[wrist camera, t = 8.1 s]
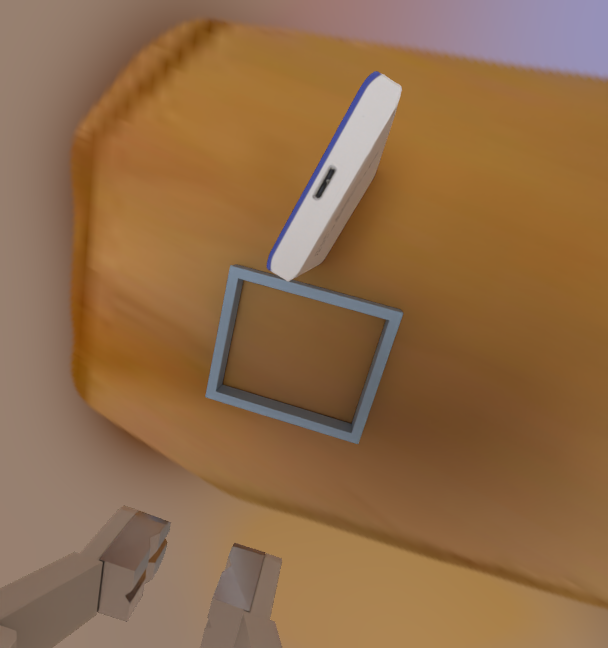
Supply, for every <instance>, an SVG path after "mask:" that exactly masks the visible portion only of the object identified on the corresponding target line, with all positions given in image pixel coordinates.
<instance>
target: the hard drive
mask: <svg viewBox="0 0 608 648" xmlns="http://www.w3.org/2000/svg"><path fill="white" fill-rule="evenodd" d="M401 90H402V87H401V86H400V85H399V84H397V83H395V82H394V81H392V80H391V79H389V78H388V77H386V76H385V75H383V74H381V73H379V72H377V71H375V72H373V73H372V74H371V75H369V76H368V77H367V78H366V80H365V81H364V83H363V84H362V86H361V87H360V89H359V91H358V93H357V94H356V96H355V98H354V100H353V102H352V103H351V105H350V107H349V109H348V111H347V113H346V115H345V116H344V118H343V120H342V122H341V123H340V125H339V127H338V129H337V131H336V133H335V134H334V136H333V138H332V140H331V142H330V144H329V146H328V147H327V149H326V151H325V153H324V155H323V157H322V158H321V160H320V162H319V164H318V166H317V168H316V169H315V171H314V173H313V175H312V177H311V179H310V181H309V182H308V184H307V186H306V188H305V190H304V191H303V193H302V195H301V197H300V199H299V201H298V202H297V204H296V206H295V208H294V209H293V211H292V213H291V215H290V217H289V219H288V220H287V222H286V224H285V226H284V228H283V230H282V231H281V233H280V235H279V237H278V239H277V241H276V243H275V245H274V247H273V249H272V250H271V252H270V254H269V258H268V261H267V269H268V270H270V271H272V272H273V273H275V274H277V275H278V276H280V277H282V278H283V279H285V280H286V281H288V282H289V281H290V280H292V279H294V278H296V277H298V276H299V275H301V274H303V273H305V272H307V271H309V270H310V269H312V268H314V267H316V266H318V265H319V264H321V263H322V262H323V261H324V260H325V258H326V256H327V255H328V253H329V251H330V250H331V248H332V246H333V245H334V243H335V241H336V240H337V238H338V236H339V235H340V233H341V231H342V230H343V228H344V226H345V225H346V223H347V221H348V220H349V218H350V216H351V215H352V213H353V211H354V210H355V208H356V206H357V205H358V203H359V201H360V200H361V198H362V197H363V195H364V193H365V192H366V190H367V188H368V187H369V185H370V183H371V182H372V180H373V178H374V176H375V174H376V171H377V168H378V165H379V162H380V159H381V156H382V153H383V150H384V147H385V144H386V141H387V137H388V134H389V131H390V128H391V125H392V122H393V119H394V116H395V113H396V110H397V105H398V102H399V99H400V95H401Z"/></svg>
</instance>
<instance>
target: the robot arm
mask: <svg viewBox="0 0 608 648" xmlns="http://www.w3.org/2000/svg"><path fill="white" fill-rule="evenodd" d="M170 524H171V523H170V522H169V521H166V520H163V519H161V518H158V517H155V516H152V515H150V514H147V513H144V512H141V511H139V510H136V509H133V508H130V507H127V506H123V507H121V508H120V509H118V510H117V511H116V513H115V514H114V515H113V516H112V517H111V518H110V519H109V521H108V522H107V523H106V524H105V525H104V526H103V527H102V528H101V530H100V531H99V532H98V533H97V534H96V535H95V537H94V538H93V539H92V540H91V541H90V542H89V543H88V544H87V545H86V547H85V548H84V549H83V550H82V551H81V552H80V553H77V552H73V553H71V554H69V555H67V556H65V557H63V558H61V559H59V560H57V561H55V562H53V563H51V564H49V565H47V566H45V567H43V568H41V569H39V570H37V571H35V572H33V573H31V574H28V575H27V576H24V577H22V578H21V579H18V580H16V581H14V582H13V583H10V584H8V585H6V586H4V587H2V588H0V648H53V647H54V646H55V645H57V644H58V643H59V642H61V641H62V640H63V639H65V638H66V637H67V636H69V635H70V634H71V633H73V632H74V631H75V630H77V629H78V628H79V627H81V626H82V625H83V624H85V623H86V622H87V621H89V620H90V619H91V618H93V617H94V616H96V614H97V612H98V613H101V614H104V615H107V616H111V617H113V618H117V619H120V620H123V621H126V622H127V621H128V619H129V618H130V616H131V614H132V612H133V611H134V609H135V607H136V606H137V604H138V602H139V601H140V599H141V597H142V596H143V590H144V585H145V584H146V583H147V582H149V581H150V580H152V579H153V577H154V575H155V574H156V572H157V570H158V568H159V566H160V564H161V562H162V560H163V557H164V554H165V551H166V547H167V541H166V539H165V537H166V536H167V534H168V532H169V530H170ZM281 564H282V559H281V558H279V557H276V556H273V555H269V554H267V553H266V554H265V552H262V551H259V550H256V549H252V548H249V547H246V546H243V545H240V544H237V543H234V544H233V547H232V549H231V551H230V554H229V557H228V561H227V565H226V569H225V571H223V572H222V575H221V577H220V580H219V582H218V585H217V588H216V591H215V593H214V596H213V598H212V602H211V606H210V610H209V614H208V622H207V625H206V628H205V630H204V635H203V639H202V644H201V648H282V646H281V642H280V638H279V635H278V631H277V628H276V624H275V622H274V621H272V620H270V616H271V611H272V607H273V602H274V597H275V592H276V587H277V583H278V578H279V574H280V569H281Z"/></svg>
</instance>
